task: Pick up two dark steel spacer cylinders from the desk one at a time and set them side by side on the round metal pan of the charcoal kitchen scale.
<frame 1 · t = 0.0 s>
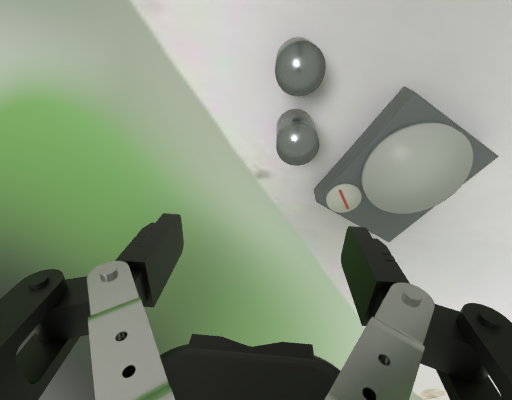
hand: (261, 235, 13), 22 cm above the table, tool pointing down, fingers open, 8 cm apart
spacer b: (296, 61, 28), on the table
scale: (391, 169, 34), on the table
spacer a: (294, 127, 32), on the table
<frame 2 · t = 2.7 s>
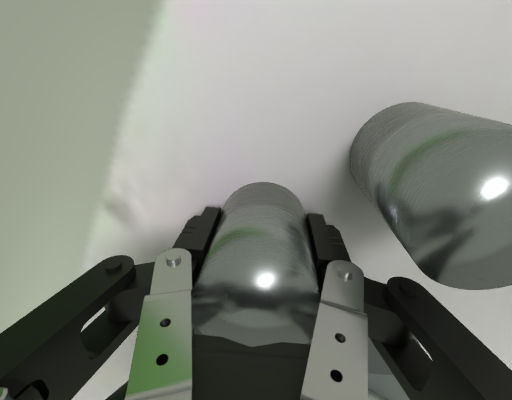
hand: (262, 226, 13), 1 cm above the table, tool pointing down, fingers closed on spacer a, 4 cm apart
spacer b: (399, 153, 12), on the table
scale: (280, 377, 20), on the table
spacer a: (263, 220, 14), on the table, touching gripper
when the fingers open (6 cm above the table, at t = 6.6 s): spacer a drops 1 cm, resting on scale.
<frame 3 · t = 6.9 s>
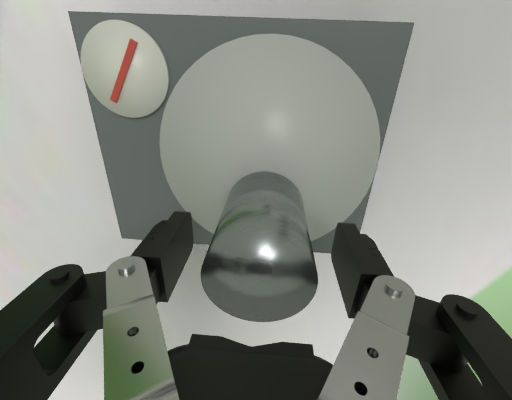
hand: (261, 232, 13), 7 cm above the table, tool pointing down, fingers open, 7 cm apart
scale: (241, 141, 18), on the table
spacer a: (264, 206, 15), point 4 cm above the table, touching scale
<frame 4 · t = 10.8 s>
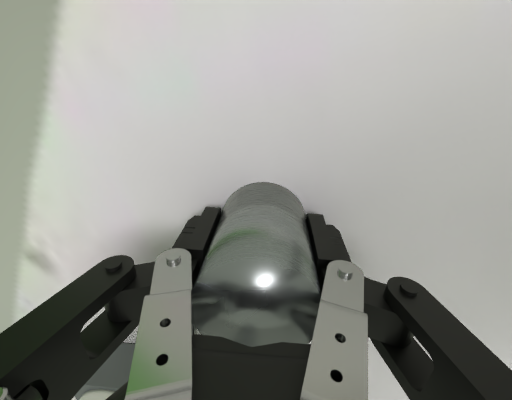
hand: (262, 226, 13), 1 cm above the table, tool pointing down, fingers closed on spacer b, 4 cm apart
spacer b: (263, 220, 14), on the table, touching gripper
scale: (206, 398, 22), on the table
when the fingers open (6 cm above the table, at t = 14.6 s): spacer b drops 1 cm, resting on scale.
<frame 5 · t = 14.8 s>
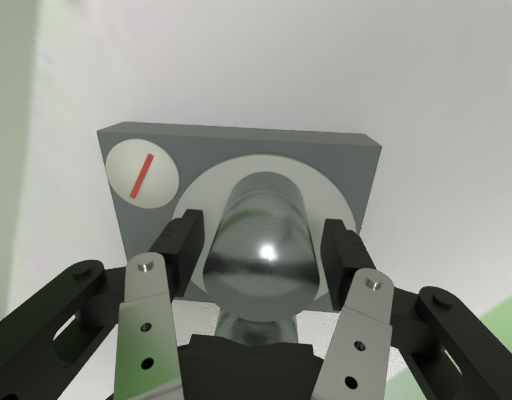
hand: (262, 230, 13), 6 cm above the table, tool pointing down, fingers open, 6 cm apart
spacer b: (265, 206, 15), point 4 cm above the table, touching scale
scale: (240, 213, 20), on the table
spacer a: (260, 279, 18), point 4 cm above the table, touching scale
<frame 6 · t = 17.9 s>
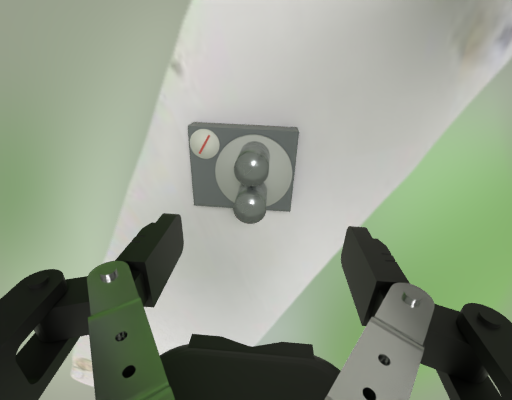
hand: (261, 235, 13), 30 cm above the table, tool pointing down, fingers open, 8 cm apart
spacer b: (254, 156, 38), point 4 cm above the table, touching scale
scale: (244, 165, 43), on the table
spacer a: (253, 191, 40), point 4 cm above the table, touching scale
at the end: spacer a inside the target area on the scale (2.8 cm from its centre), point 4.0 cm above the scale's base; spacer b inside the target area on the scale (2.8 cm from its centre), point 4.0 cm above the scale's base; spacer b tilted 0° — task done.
